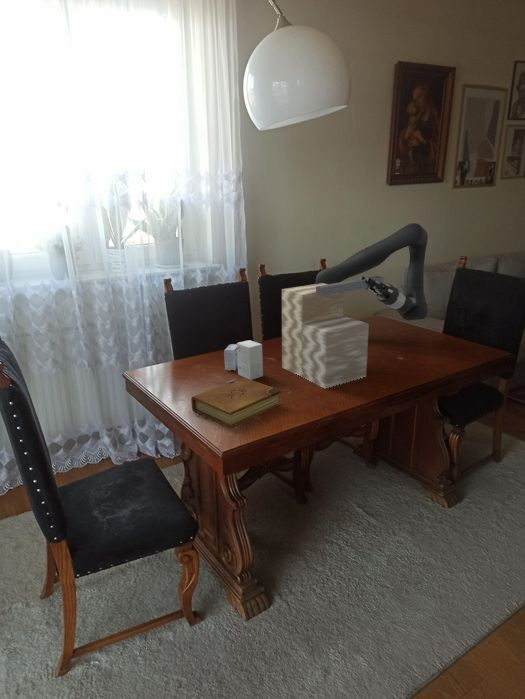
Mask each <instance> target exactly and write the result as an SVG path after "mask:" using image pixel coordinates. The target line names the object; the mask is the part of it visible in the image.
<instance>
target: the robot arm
mask: <svg viewBox="0 0 525 699" xmlns="http://www.w3.org/2000/svg"><path fill="white" fill-rule="evenodd" d="M428 239H429V235H428V232H427V230H426V229H425V227H423V226H422V225H420V224H419V223H417V222H416V223H415V222H413V223H409V224H406V225H405V226H403V227H401V228H400V229H399V230H396V231H395V232H394V233H392V234H390V235H389V236H387V237H386V238H383V239H381V240H379V241H377V242H376V243H375V242H374V243H373V244H371V245H369V246H367V247H365V248H364V249H361V250H358V252H356V253H354V254H352V255H351V256H349V257H348V258H347V259H345V260H343V261H342V262H340V263H338V264H336V265H334V266H331V267H326V268H324V269H322V270H320V271H319V272H318V273H317V275H316V277H315V284H319V283H324V284H333V283H339V282H344V281H345V280H347V279H349V278H351V277H354V276H357V275H360V277H359V279H364V278H367V281H366V283H367V284H369V285H370V286H372V287H370V288H364V289H365V290H366V291H371V292H372V293H373V294H374V295H376V299H377V300H378V301H379V302H380V303H382V304H384V305H386V306H387V307H389V308H391V309H394V310H395V311H396V312H398V313H399V315H400V316H401V318H402V319H404V320H405V321H409V322H410V321H417V320H418V321H419V320H424V319H426V318H427V316H428V314H429V307H428V302H427V300H426V296H425V289H424V288H425V286H424V285H425V281H424V280H425V279H424V278H425V259H426V252H427V251H426V250H427V247H428V246H427V245H428ZM407 247H408V251H409V264H408V268H407V272H406V276H405V277H406V278H405V293H404V292H403V291H402V290H400V289H398V288H397V287H395V286H394V285H392V284H390V283H384V282H383V283H379V282H378V281H374V280H373V279H371V278H369V277H365V276H363V275H361V274H363V273H364V272H368V271H370V270H372V269H375V268H376V267H379V266H380V265H382V264H383V263H384V262H385V261H386V260H387V259H388V258H389V257H391V255H392V254H394V253H396V252H397V251H399V250H402V249H404V248H407ZM412 299H414V301H415V302H413V300H412Z"/></svg>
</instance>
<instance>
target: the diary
mask: <svg viewBox="0 0 525 699" xmlns="http://www.w3.org/2000/svg"><path fill="white" fill-rule="evenodd" d="M281 392H282V390H281V389H278V388H276V387H273V386H269V385H267V384H263V383H261V382H258V381H255V380H254V379H252V380H250V379H247V378H245V377H243V376H242V377H240V378H237V379H235V380H232V381H229V382H228V383H225V384H222V385H219V386H217V387H214V388H211V389H209V390H206V391H204V392H200V393H198V394H196V395H193V396H192V397H191V401H190V402H191V410H192V411H193V412H195V413H197V414H200V415H202V416H203V417H205V418H209V419H211V420H212V421H215V422H216V423H219V424H222V425H224V426H225V427H228V428H233V427H235V426H237V425H239V424H242V423H244V422H246V421H248V420H250V419H252V418H255V417H257V416H259V415H261V414H263V413H265V412H268V411H270V410H272V409H274V408H276V407H278V406H280V404H282V403H281V402H279V394H281Z"/></svg>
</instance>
